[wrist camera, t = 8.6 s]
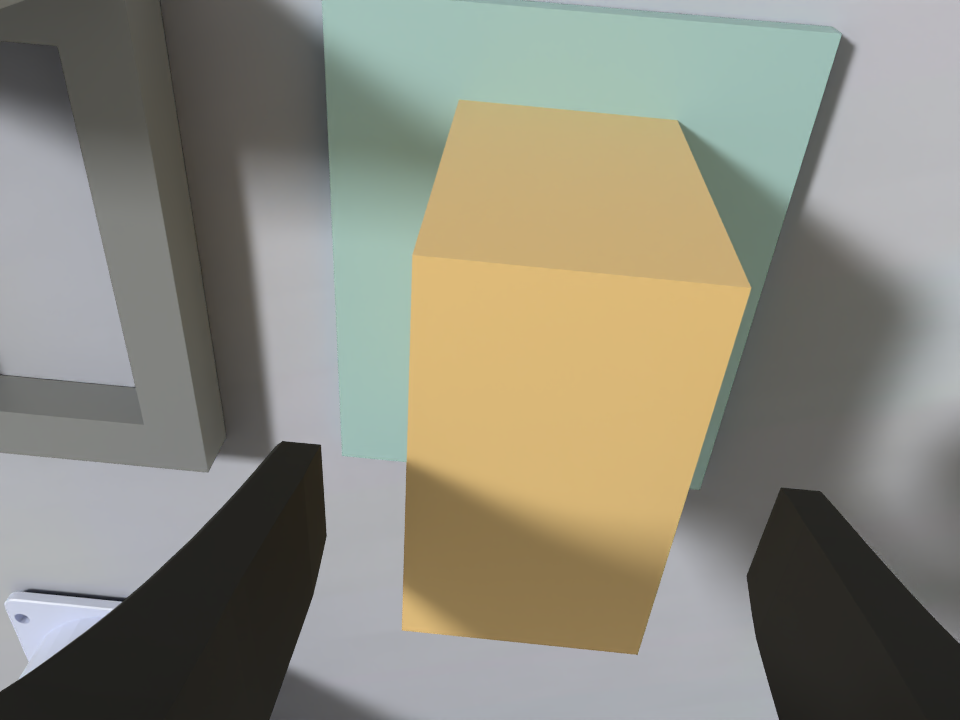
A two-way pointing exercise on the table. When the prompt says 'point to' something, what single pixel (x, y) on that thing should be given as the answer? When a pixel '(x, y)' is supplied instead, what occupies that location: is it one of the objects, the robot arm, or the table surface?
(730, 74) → the teal pad
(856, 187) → the table surface
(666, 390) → the orange rectangular block
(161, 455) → the grey angular piece
